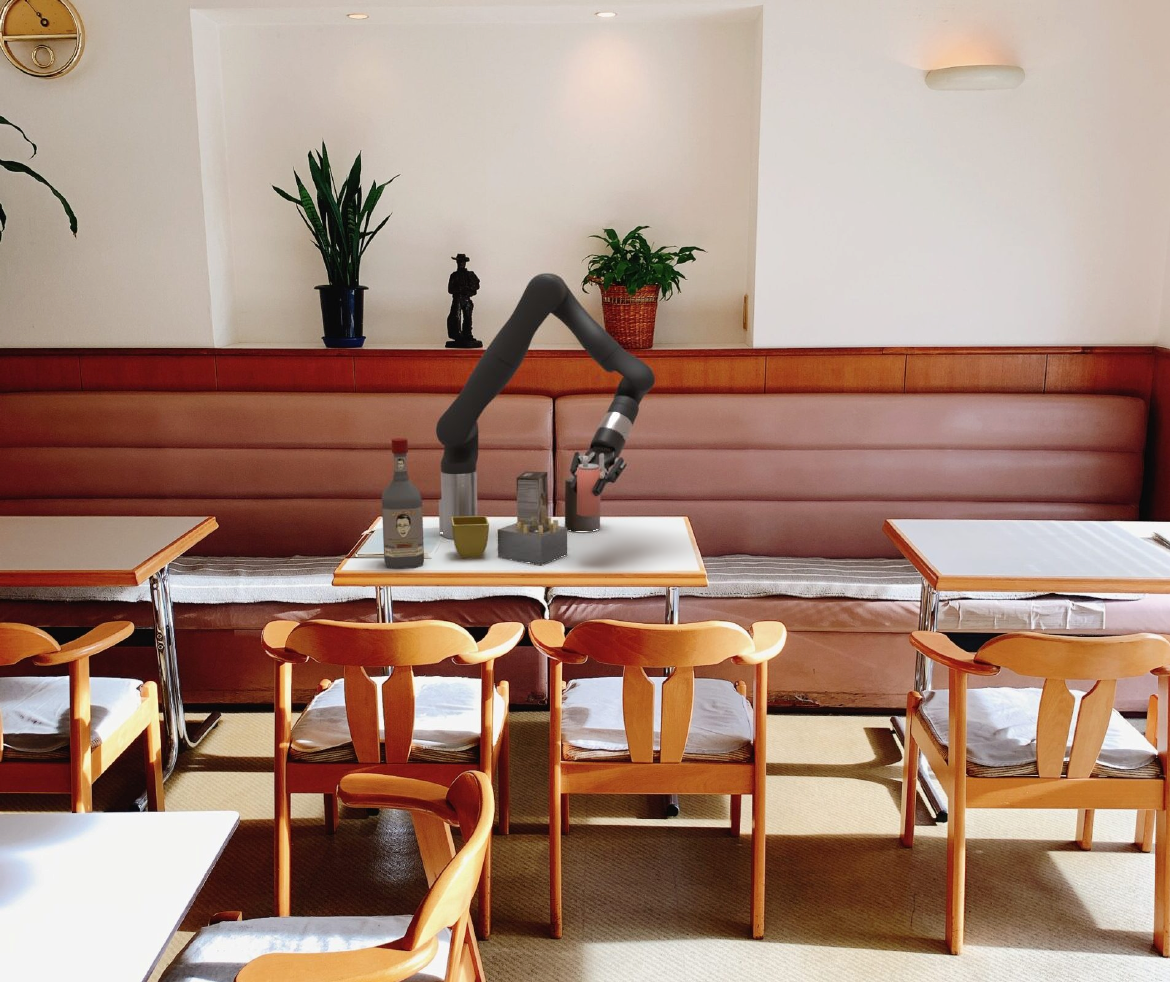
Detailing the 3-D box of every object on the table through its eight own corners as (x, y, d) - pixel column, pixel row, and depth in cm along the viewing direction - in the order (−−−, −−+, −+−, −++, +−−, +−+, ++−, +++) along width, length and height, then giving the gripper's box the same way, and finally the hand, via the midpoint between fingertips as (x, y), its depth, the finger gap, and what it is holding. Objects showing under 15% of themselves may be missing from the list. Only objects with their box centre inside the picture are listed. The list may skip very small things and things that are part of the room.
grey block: (488, 555, 256) (487, 519, 254) (515, 545, 265) (514, 511, 263) (541, 565, 248) (541, 528, 246) (567, 555, 257) (567, 519, 255)
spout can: (572, 514, 246) (572, 455, 243) (584, 509, 250) (585, 452, 247) (591, 517, 243) (592, 458, 240) (603, 512, 248) (604, 454, 245)
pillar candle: (562, 532, 279) (562, 477, 275) (567, 523, 288) (567, 470, 285) (598, 533, 278) (599, 478, 274) (602, 524, 287) (603, 471, 284)
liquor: (383, 559, 253) (378, 437, 246) (421, 557, 255) (417, 435, 248) (385, 569, 244) (380, 443, 238) (424, 567, 246) (420, 441, 240)
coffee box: (525, 528, 282) (525, 470, 279) (548, 530, 281) (548, 471, 278) (516, 537, 274) (515, 477, 270) (540, 538, 272) (539, 478, 269)
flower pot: (487, 550, 261) (486, 515, 259) (490, 559, 253) (489, 523, 251) (451, 552, 260) (450, 516, 258) (453, 561, 251) (452, 525, 249)
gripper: (580, 423, 252) (552, 479, 245) (631, 428, 245) (604, 487, 238) (592, 441, 258) (565, 497, 251) (642, 447, 250) (616, 505, 243)
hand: (584, 492), depth 244 cm, fingers closed on spout can, 5 cm apart
